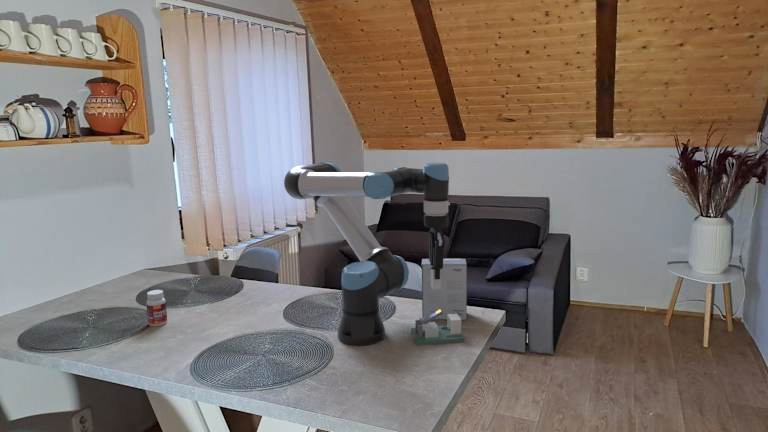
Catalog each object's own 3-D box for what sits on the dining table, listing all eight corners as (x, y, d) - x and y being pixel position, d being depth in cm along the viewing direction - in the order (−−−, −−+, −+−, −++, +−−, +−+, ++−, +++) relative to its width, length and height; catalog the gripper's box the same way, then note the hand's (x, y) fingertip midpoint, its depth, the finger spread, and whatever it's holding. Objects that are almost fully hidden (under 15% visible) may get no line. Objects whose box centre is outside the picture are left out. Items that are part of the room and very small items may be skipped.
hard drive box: (465, 312, 195) (466, 258, 191) (466, 320, 187) (467, 264, 183) (422, 311, 196) (422, 257, 192) (421, 319, 189) (421, 263, 185)
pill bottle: (155, 328, 185) (152, 296, 182) (144, 324, 188) (141, 293, 186) (171, 322, 190) (168, 291, 188) (160, 318, 193) (157, 288, 191)
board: (416, 344, 168) (416, 328, 167) (411, 331, 179) (411, 316, 178) (464, 341, 170) (464, 326, 169) (456, 328, 180) (456, 313, 179)
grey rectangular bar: (418, 329, 172) (416, 326, 172) (417, 326, 174) (415, 323, 174) (443, 314, 172) (441, 311, 172) (441, 311, 174) (439, 308, 174)
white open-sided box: (451, 334, 172) (451, 320, 171) (447, 328, 177) (447, 314, 176) (461, 334, 172) (461, 319, 171) (457, 327, 178) (457, 313, 177)
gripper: (453, 217, 160) (453, 294, 165) (443, 209, 174) (442, 279, 179) (428, 218, 159) (428, 295, 164) (419, 209, 173) (420, 281, 178)
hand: (435, 287), depth 171 cm, fingers closed
